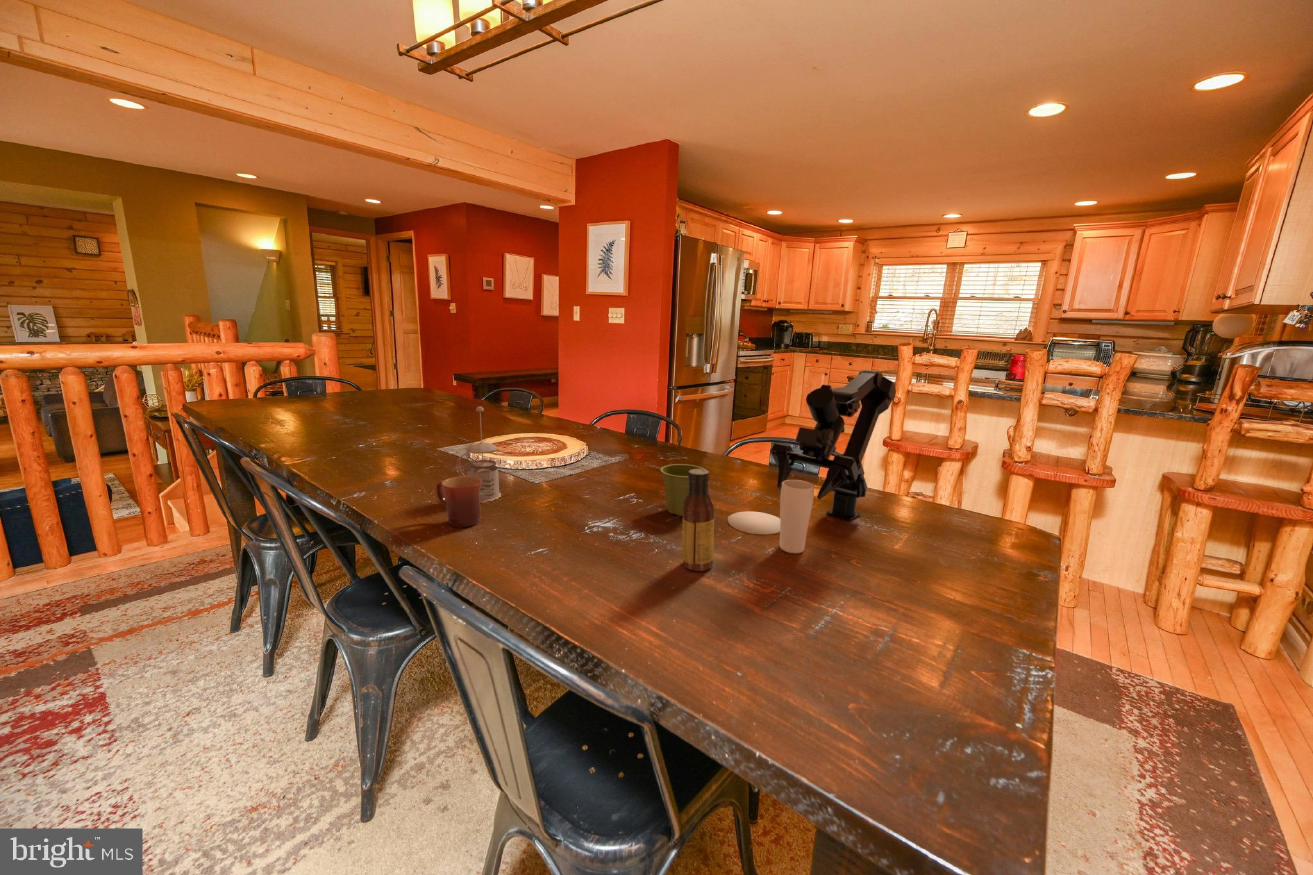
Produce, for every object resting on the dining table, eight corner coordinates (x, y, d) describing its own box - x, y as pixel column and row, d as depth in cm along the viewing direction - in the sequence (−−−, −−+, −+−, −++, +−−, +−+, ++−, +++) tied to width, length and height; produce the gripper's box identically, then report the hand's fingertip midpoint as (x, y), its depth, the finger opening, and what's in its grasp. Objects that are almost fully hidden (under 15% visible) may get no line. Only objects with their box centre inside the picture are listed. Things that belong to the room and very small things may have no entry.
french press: (496, 504, 130) (492, 410, 125) (452, 503, 130) (446, 408, 125) (507, 492, 140) (504, 404, 134) (466, 490, 140) (461, 402, 134)
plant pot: (714, 514, 128) (716, 472, 126) (677, 523, 122) (678, 479, 119) (686, 500, 138) (687, 461, 135) (650, 508, 131) (651, 467, 129)
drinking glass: (804, 543, 113) (811, 480, 109) (810, 557, 106) (817, 490, 103) (773, 541, 113) (779, 478, 110) (778, 554, 107) (784, 488, 103)
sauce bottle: (715, 561, 103) (721, 469, 98) (708, 575, 97) (714, 477, 92) (685, 556, 105) (689, 465, 100) (676, 569, 99) (680, 473, 94)
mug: (491, 519, 120) (490, 479, 118) (465, 533, 112) (463, 489, 110) (453, 511, 125) (450, 472, 122) (425, 523, 117) (422, 482, 115)
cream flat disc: (750, 508, 133) (750, 507, 133) (796, 524, 123) (796, 523, 123) (716, 521, 124) (716, 519, 124) (762, 539, 114) (762, 538, 114)
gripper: (777, 408, 113) (748, 463, 108) (860, 420, 101) (832, 483, 96) (790, 437, 121) (763, 490, 115) (869, 451, 109) (843, 511, 103)
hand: (798, 493), depth 107 cm, fingers open, 9 cm apart
